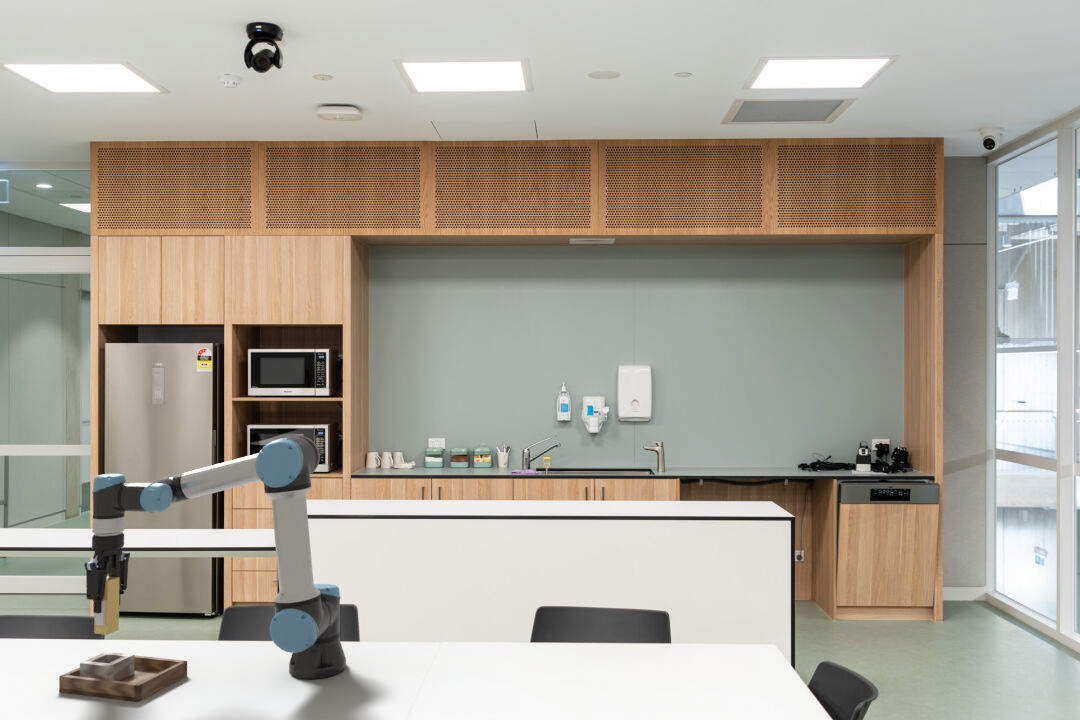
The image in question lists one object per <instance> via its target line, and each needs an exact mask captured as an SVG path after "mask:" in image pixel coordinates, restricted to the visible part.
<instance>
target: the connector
mask: <svg viewBox="0 0 1080 720" xmlns="http://www.w3.org/2000/svg"><path fill="white" fill-rule="evenodd" d="M98 596H99V595H98ZM103 600H106V608H105V625H103V626H102V625H94V627H93V629H94V631H93V633H94V634H96V635H97V634H98V635H105V636H107V635H110V634H113V633H115V632H117V631H119V622H120V621H119V620H120V606H119V577H109V575H107V578H106V582H105V590H104V596H103ZM93 621H94V623H95V620H93Z"/></svg>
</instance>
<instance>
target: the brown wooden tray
mask: <svg viewBox="0 0 1080 720" xmlns="http://www.w3.org/2000/svg"><path fill="white" fill-rule="evenodd" d="M186 677H188V660H181V659H172V658H163V657H155V656H154V657H153V656H145V655H136V654H132V653H122V652H112V651H105V652H102V653H100V654H98V655H95V656H93V657H90V658H89V659H86V660H83V661H81V662H80V663H79V667H78V668H75V669H73V670H70V671H68V672H65V673H63V674H61V675H60V676H59V677H58V681H59V682H58V683H59V685H58V687H59V689H58V690H59V691H58V692H59V693H63V694H73V695H79V696H88V697H95V698H102V699H103V698H104V699H112V700H120V701H128V702H135V703H136V702H137V703H139V702H141V701H143V700H145V699H146V698H149V697H150V696H153V695H154V694H156V693H158V692H160V691H161V690H163V689H166V688H167V687H169V686H171V685H173V684H175V683H176V682H178V681H180V680H182V679H184V678H186Z"/></svg>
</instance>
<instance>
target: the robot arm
mask: <svg viewBox="0 0 1080 720" xmlns="http://www.w3.org/2000/svg"><path fill="white" fill-rule="evenodd" d="M320 459H321V454H320V450H319V447H318V446H317V444H316V443H315V442H314V441H313V440H312V439H311V438H308V437H307V436H303V435H293V436H290V437H285V438H278V439H274V440H272V441H271V442H268V443H266V444H265V445H264V446H263V447H262V448H261V449H260V450H259V452H258V453H253V454H251V455H245V456H243V457H239V458H235V459H232V460H228V461H227V460H226V461H224V462H221V463H215V464H213V465H208V466H204V467H201V468H197V469H194V470H193V469H192V470H190V471H186V472H183V473H178V474H174V475H173V474H172V475H169V476H166V477H163V478H159V479H155V480H151V481H150V480H149V481H145V482H127V480H126V476H125V474H122V473H102V474H98V475H96V476H95V477H94V479H93V489H92V533H93V535H92V537H91V548H92V550H93V551H94V553H93V554H94V555H93V557H92V559H91V560H90V561H86V562H85V563H84V569H85V572H86V600H89V601H92V602H93V606H92V607H93V610H92V611H93V613H94V621H95V623H94V625H102V626H103V625H105V608H106V600H103V596H104V590H105V582H106V578H107V576H109V577H119V607H120V606H121V595H124V594H125V591H127V589H128V573H129V572H128V571H129V561H130V557H131V553H130V552H123V549H122V548H124V546H125V533H124V531H125V519H126V518H125V513H126V512H142V513H151V514H152V513H161V512H165V511H167V509H168V508H169V507H170V506H171V505H173V504H176V503H181V502H184V501H185V502H186V501H188V500H191V499H194V498H198V497H203V496H207V495H210V494H215V493H218V492H222V491H226V490H227V491H228V490H230V489H234V488H238V487H242V486H246V485H250V484H254V483H258V482H262V483H263V488H264V489H263V490H264V494H265V495H266V496H267V497H269V498H270V500H271V506H272V507H271V509H272V518H273V530H274V543H275V545H274V546H275V555H276V556H275V557H276V566H277V578H278V587H279V591H278V593H277V594H276V595H275V596H274V598H273V602H274V616H273V617H272V619H271V622H270V625H269V635H270V638H271V640H272V642H273V643H274V645H275V646H276V647H278V648H279V649H280V650H282V651H283V652H287V653H291V656H290V660H289V665H288V672H289V674H290V676H292V677H294V678H298V679H303V680H316V679H319V680H320V679H325V678H329V677H334V676H337V675H339V674H341V673H342V672H344V671H345V670H346V668H347V657H346V655H345V651H344V649H343V645H342V643H341V639H340V633H341V632H340V630H341V629H340V628H341V626H340V622H341V621H340V619H341V616H340V615H341V613H340V611H341V605H340V604H341V593H340V592H341V591H340V587H339V586H338V585H336V584H332V583H331V584H328V583H314V574H313V563H312V551H311V540H310V539H311V537H310V528H309V515H308V505H307V494H308V492H310V490H311V488H312V481H311V479H312V478H311V475H312V474H313V473H314V472H315V471H316V469H317V468H318V466H319V463H320ZM98 595H99V596H98Z"/></svg>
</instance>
